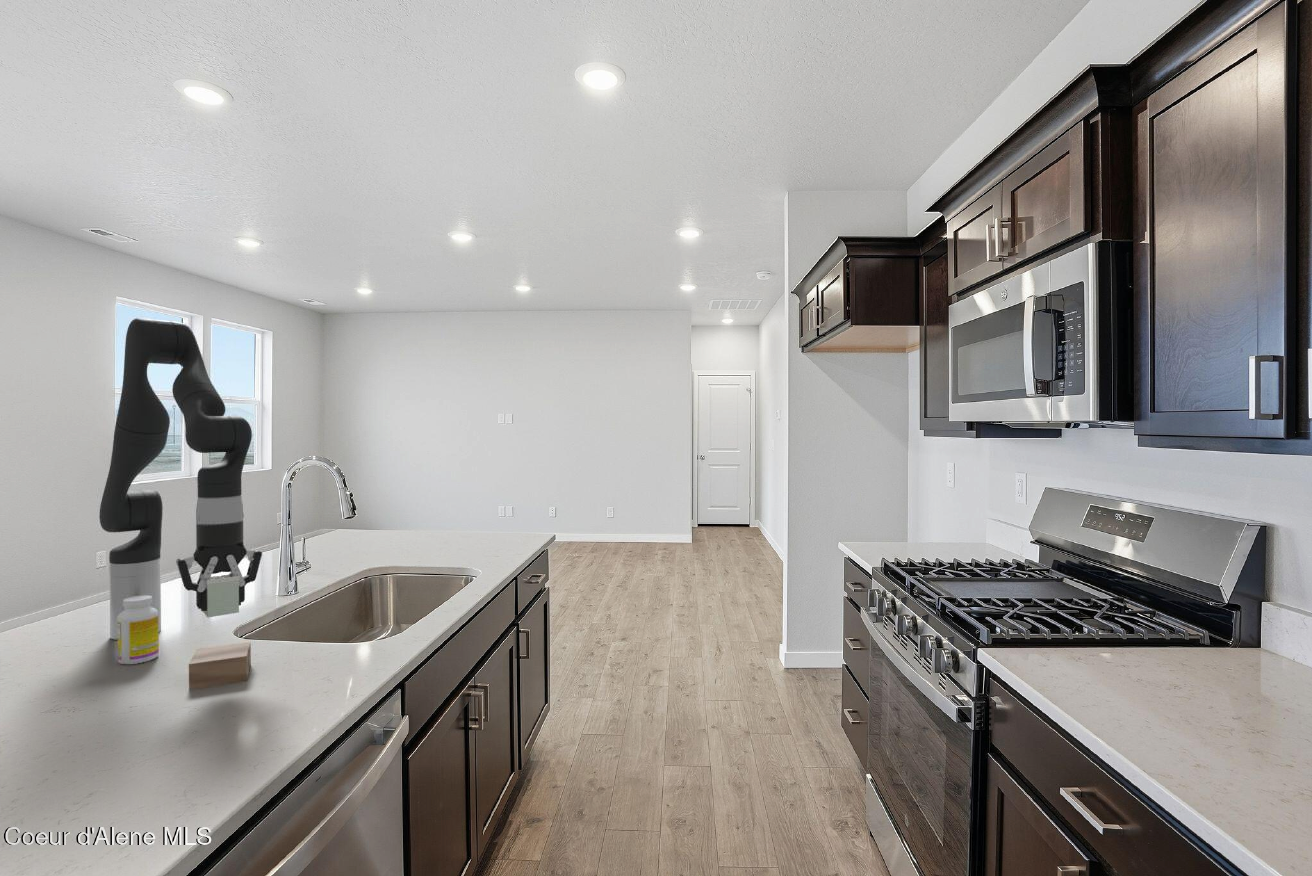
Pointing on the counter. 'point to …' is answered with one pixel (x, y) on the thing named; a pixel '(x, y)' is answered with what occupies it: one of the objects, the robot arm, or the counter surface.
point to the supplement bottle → (137, 631)
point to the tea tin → (222, 594)
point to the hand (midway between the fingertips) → (220, 607)
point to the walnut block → (220, 665)
